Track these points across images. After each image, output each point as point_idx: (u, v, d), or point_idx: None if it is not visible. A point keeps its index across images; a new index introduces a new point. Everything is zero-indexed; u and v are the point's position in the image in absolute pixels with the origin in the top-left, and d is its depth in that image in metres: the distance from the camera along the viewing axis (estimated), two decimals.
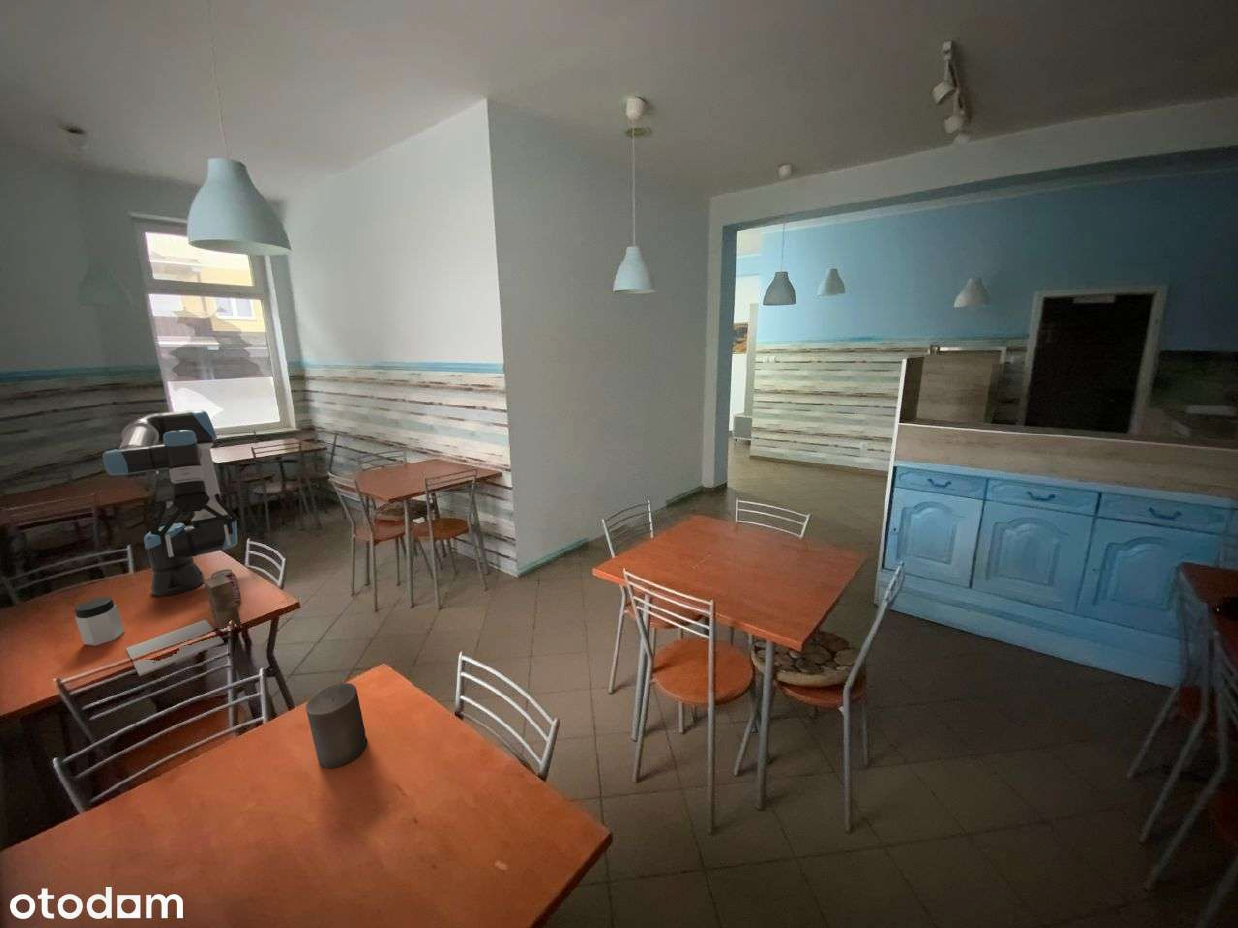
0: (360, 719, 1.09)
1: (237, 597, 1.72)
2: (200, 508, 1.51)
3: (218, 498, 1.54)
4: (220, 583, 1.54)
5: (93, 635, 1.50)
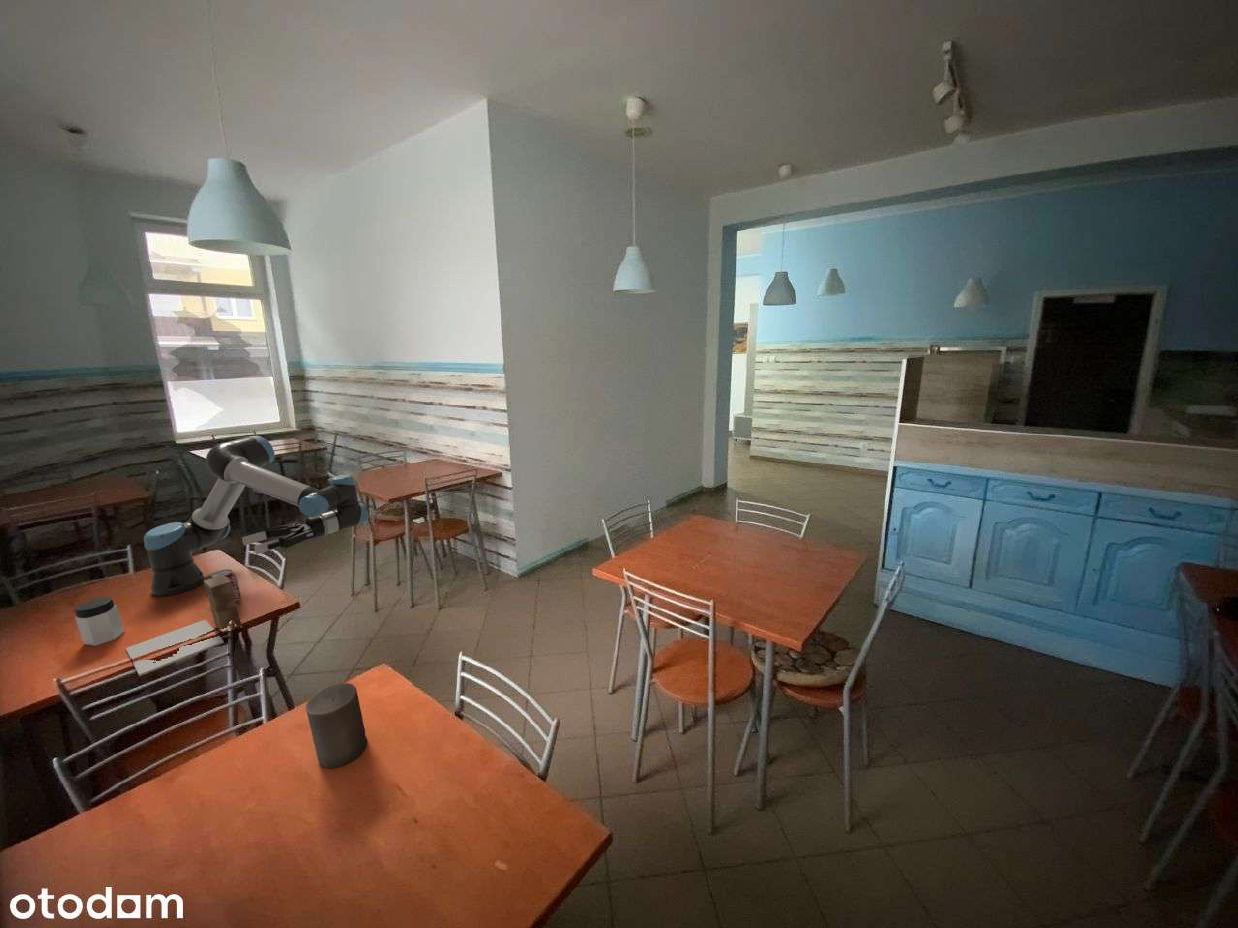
0: (360, 719, 1.09)
1: (237, 597, 1.72)
2: None
3: None
4: (220, 583, 1.54)
5: (93, 635, 1.50)
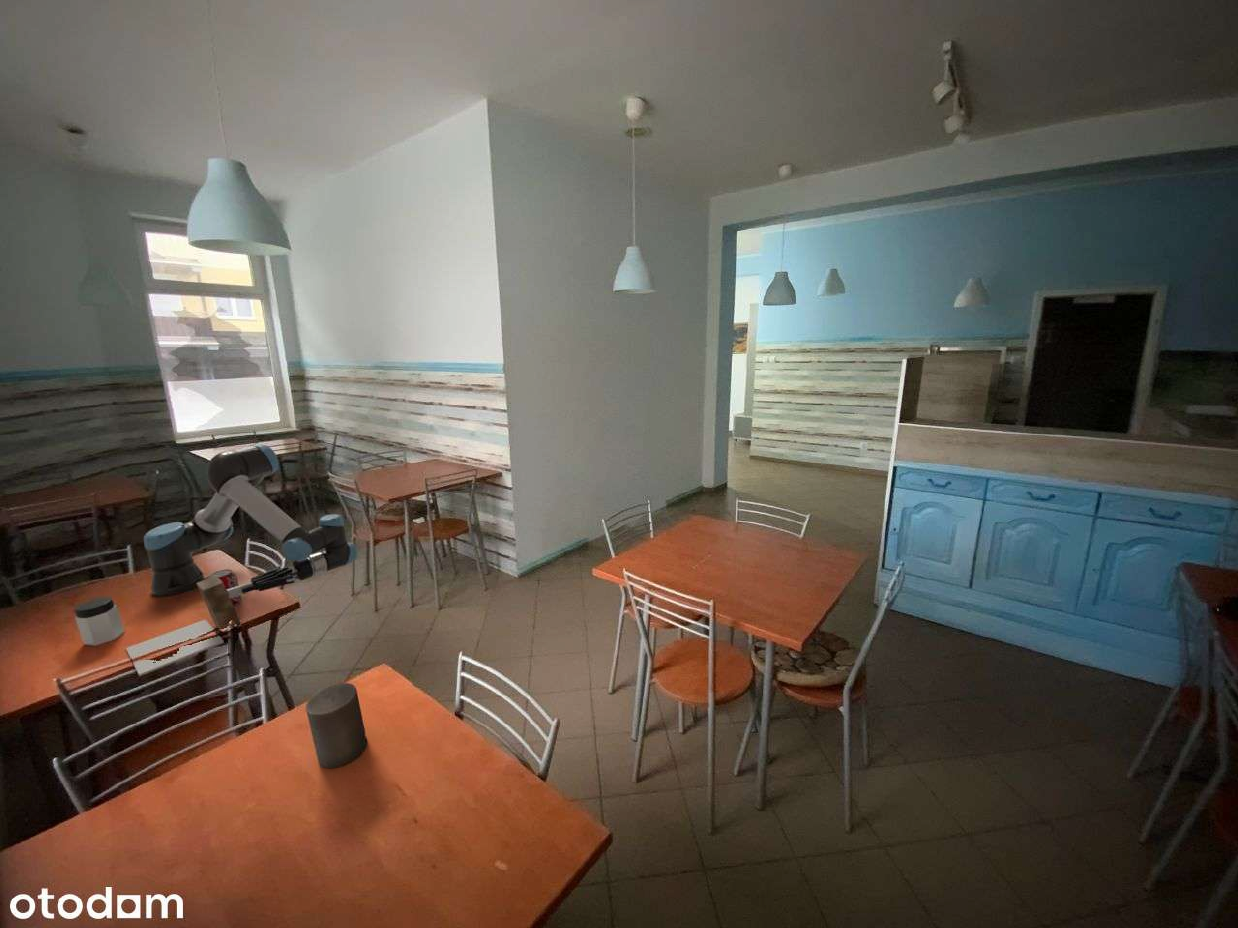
0: (360, 719, 1.09)
1: (237, 597, 1.72)
2: None
3: None
4: (212, 585, 1.53)
5: (93, 635, 1.50)
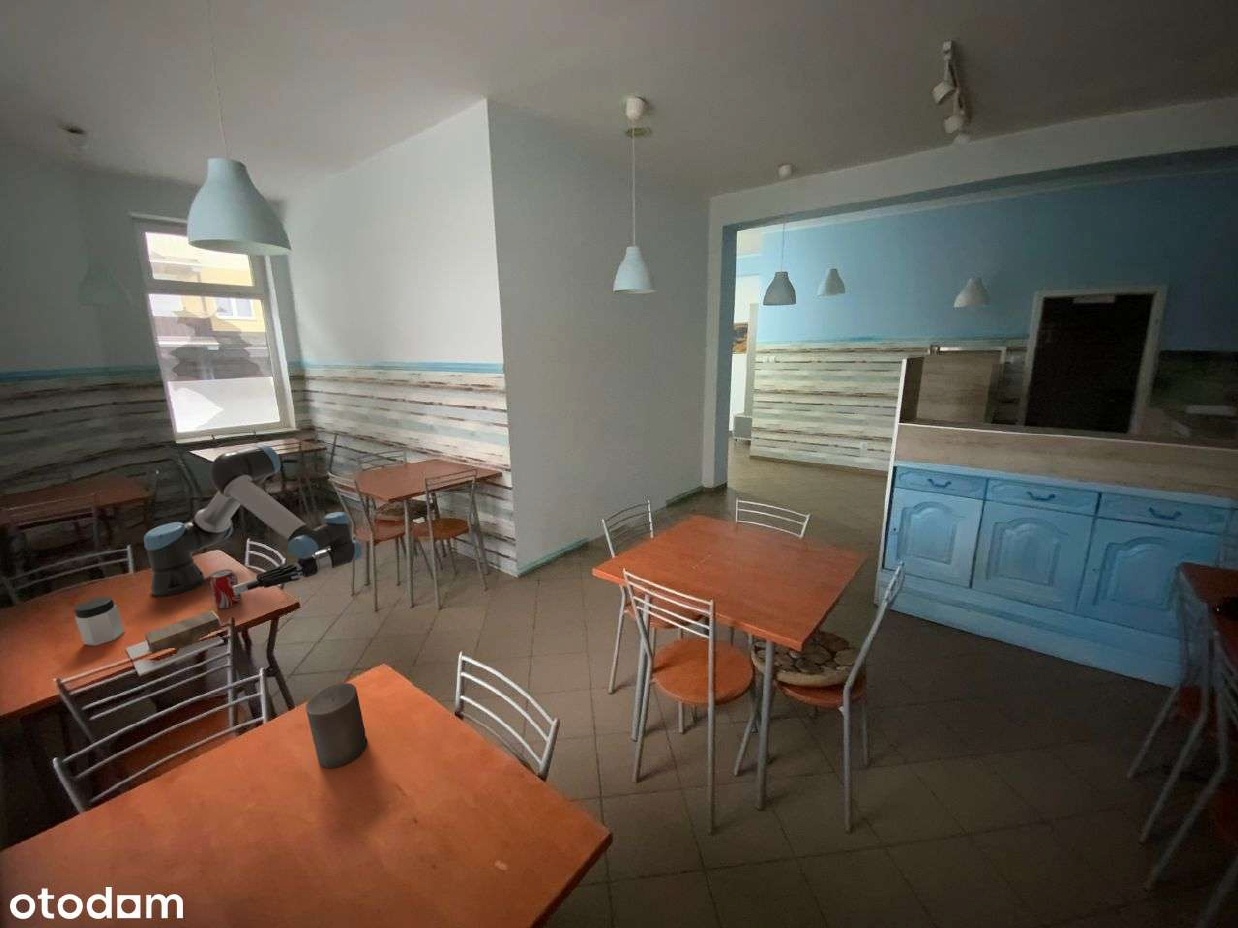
0: (360, 719, 1.09)
1: (237, 597, 1.72)
2: None
3: None
4: (151, 649, 1.43)
5: (93, 635, 1.50)
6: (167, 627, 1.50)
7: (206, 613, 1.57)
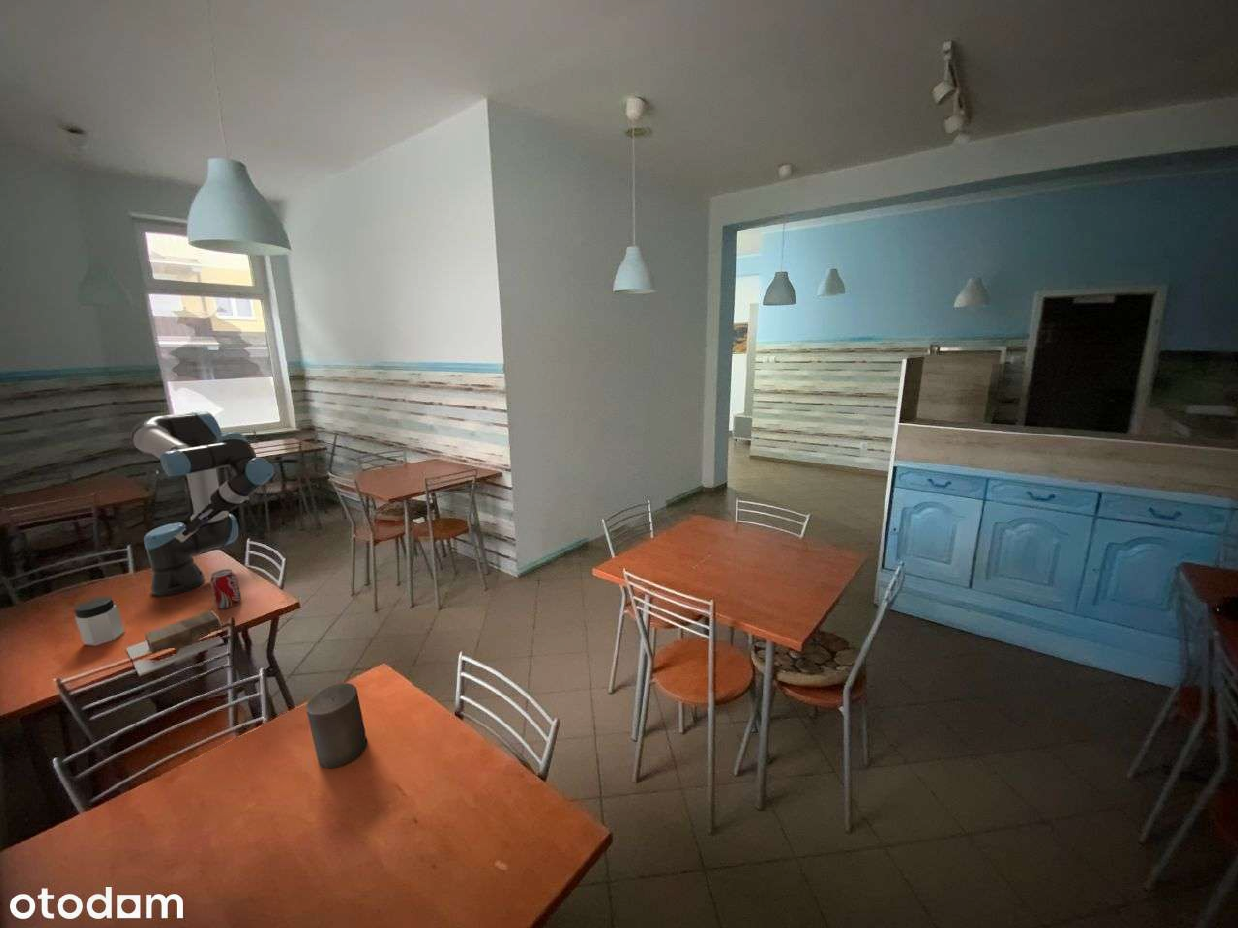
0: (360, 719, 1.09)
1: (237, 597, 1.72)
2: None
3: None
4: (151, 649, 1.43)
5: (93, 635, 1.50)
6: (167, 627, 1.50)
7: (206, 613, 1.57)
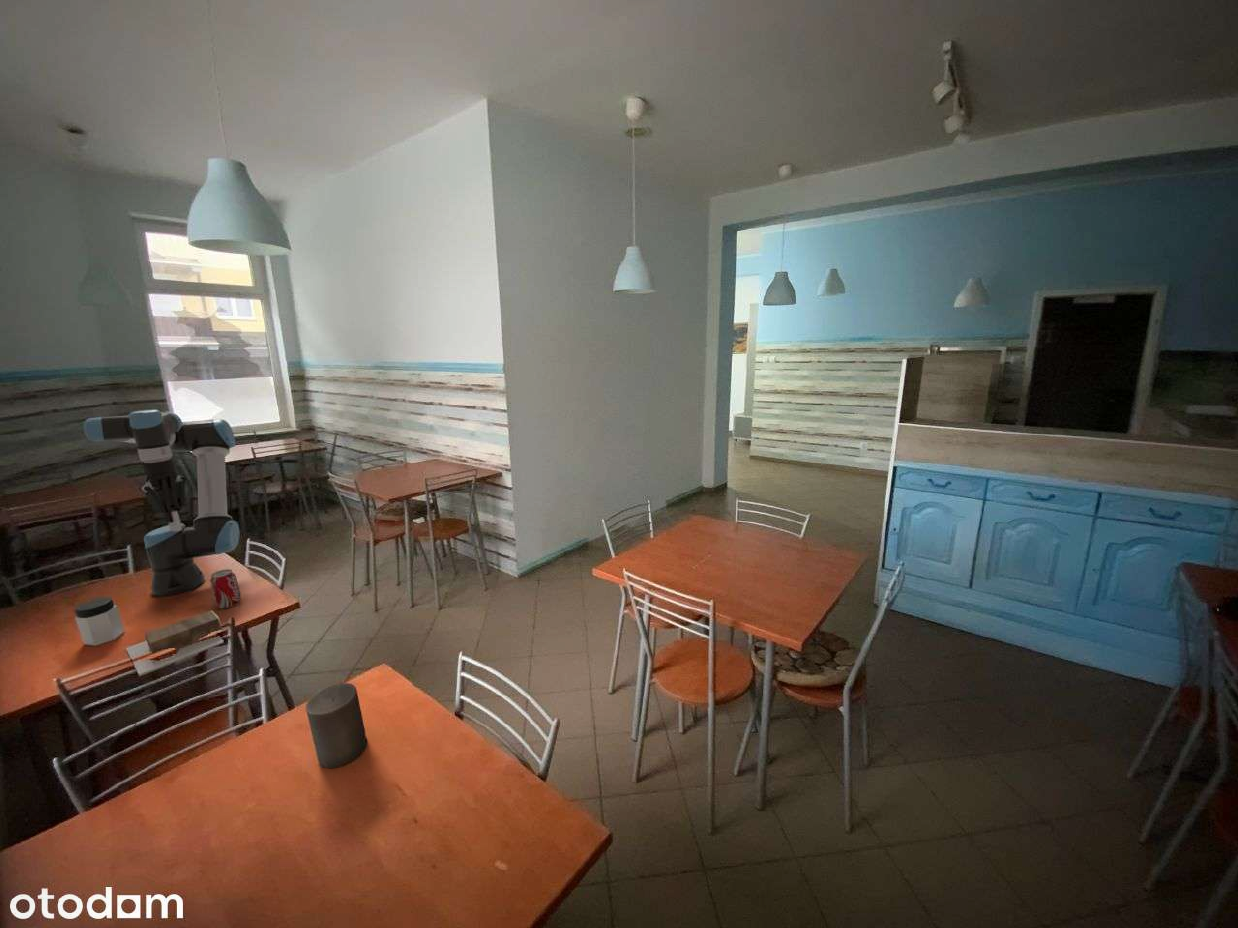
0: (360, 719, 1.09)
1: (237, 597, 1.72)
2: None
3: (183, 481, 1.63)
4: (151, 649, 1.43)
5: (93, 635, 1.50)
6: (167, 627, 1.50)
7: (206, 613, 1.57)
